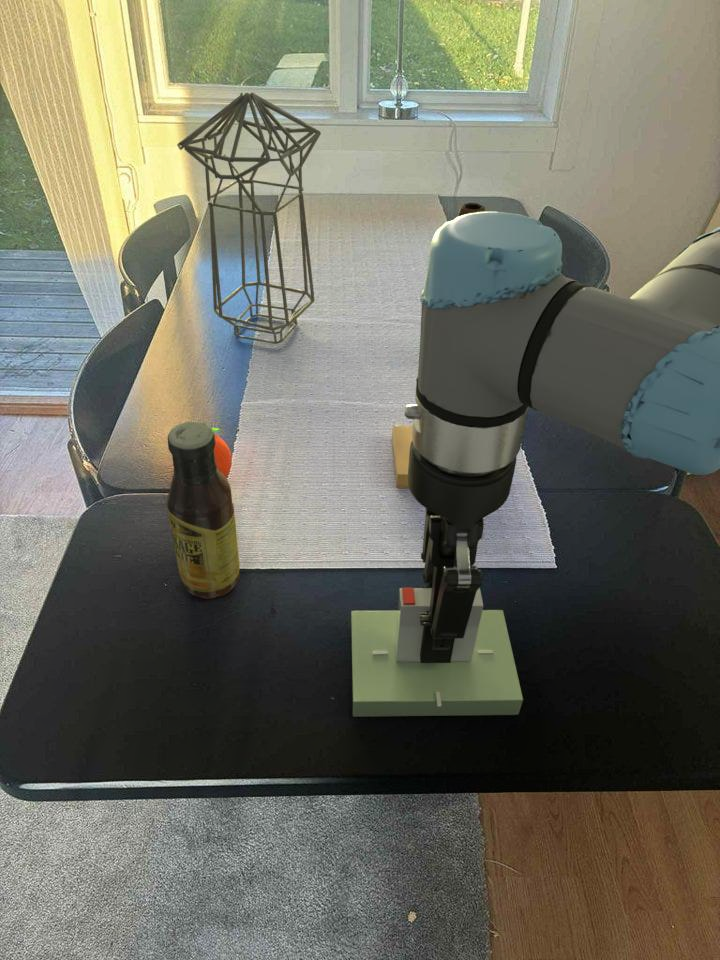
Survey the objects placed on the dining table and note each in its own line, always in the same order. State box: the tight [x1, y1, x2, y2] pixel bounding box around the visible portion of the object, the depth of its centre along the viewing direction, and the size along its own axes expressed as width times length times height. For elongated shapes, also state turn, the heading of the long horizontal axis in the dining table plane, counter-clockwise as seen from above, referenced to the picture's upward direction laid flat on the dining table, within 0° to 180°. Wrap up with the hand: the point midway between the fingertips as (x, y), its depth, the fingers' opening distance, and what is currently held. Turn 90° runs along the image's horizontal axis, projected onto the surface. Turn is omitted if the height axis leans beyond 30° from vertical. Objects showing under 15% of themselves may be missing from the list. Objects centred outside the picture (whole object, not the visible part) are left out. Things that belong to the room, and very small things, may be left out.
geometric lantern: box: [176, 91, 322, 345], centre depth 103 cm, size 16×16×35 cm
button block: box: [391, 425, 413, 489], centre depth 89 cm, size 12×10×4 cm
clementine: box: [172, 427, 233, 478], centre depth 84 cm, size 8×7×7 cm
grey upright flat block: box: [395, 587, 484, 662], centre depth 62 cm, size 7×2×8 cm, turn 91°
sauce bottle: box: [165, 420, 241, 600], centre depth 68 cm, size 7×6×20 cm
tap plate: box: [350, 609, 524, 718], centre depth 66 cm, size 15×11×3 cm
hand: (433, 646), depth 64 cm, fingers closed on grey upright flat block, 2 cm apart
